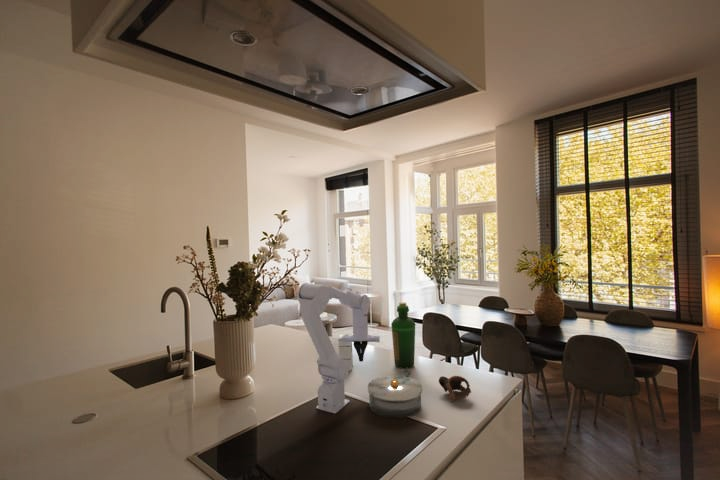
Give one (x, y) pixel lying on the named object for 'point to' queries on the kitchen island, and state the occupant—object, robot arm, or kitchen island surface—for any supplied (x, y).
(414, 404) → the cooker pot
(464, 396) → the pottery mug
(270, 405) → the kitchen island surface
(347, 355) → the syrup box
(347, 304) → the robot arm
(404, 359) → the bottle
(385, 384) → the cooker lid
